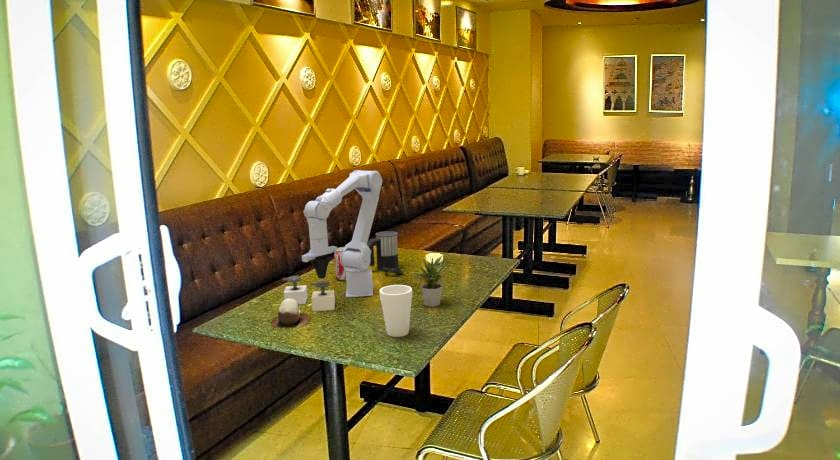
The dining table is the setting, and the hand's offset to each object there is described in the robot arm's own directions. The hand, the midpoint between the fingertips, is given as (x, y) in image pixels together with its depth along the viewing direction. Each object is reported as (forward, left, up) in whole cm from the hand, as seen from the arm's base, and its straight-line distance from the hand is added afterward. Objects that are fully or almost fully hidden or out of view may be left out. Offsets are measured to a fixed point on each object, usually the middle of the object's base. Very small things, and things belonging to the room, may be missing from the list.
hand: (321, 277), depth 187 cm
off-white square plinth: (0, 0, -10) cm, 10 cm away
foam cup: (-23, +27, -10) cm, 37 cm away
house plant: (-36, +3, -10) cm, 38 cm away
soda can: (-6, -32, -10) cm, 34 cm away
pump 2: (+1, 0, -6) cm, 6 cm away
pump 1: (+11, -8, -6) cm, 15 cm away
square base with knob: (+10, -8, -10) cm, 16 cm away
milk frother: (-24, -39, -10) cm, 47 cm away
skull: (+9, +11, -10) cm, 18 cm away
